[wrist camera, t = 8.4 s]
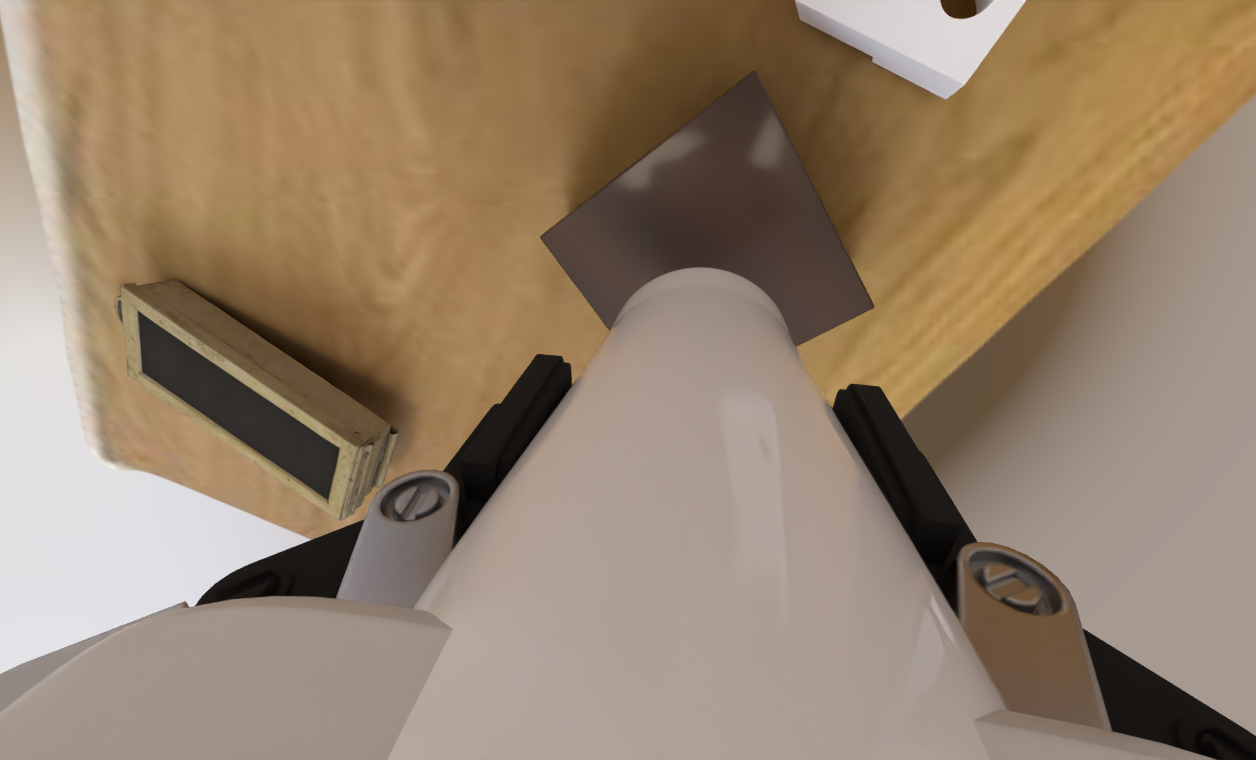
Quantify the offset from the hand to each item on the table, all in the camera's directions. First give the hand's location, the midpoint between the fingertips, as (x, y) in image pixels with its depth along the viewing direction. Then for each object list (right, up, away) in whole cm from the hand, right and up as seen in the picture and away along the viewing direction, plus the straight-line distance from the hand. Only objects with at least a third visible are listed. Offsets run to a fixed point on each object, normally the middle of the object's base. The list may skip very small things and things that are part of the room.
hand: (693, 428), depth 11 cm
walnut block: (+3, +8, +15) cm, 17 cm away
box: (-28, +2, +24) cm, 37 cm away
